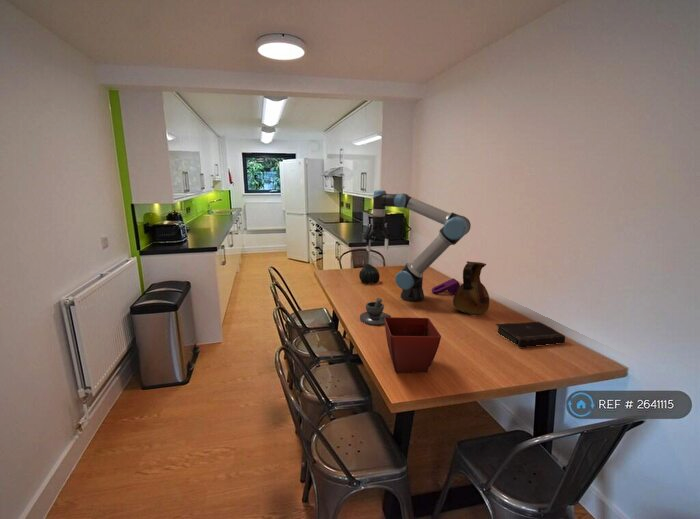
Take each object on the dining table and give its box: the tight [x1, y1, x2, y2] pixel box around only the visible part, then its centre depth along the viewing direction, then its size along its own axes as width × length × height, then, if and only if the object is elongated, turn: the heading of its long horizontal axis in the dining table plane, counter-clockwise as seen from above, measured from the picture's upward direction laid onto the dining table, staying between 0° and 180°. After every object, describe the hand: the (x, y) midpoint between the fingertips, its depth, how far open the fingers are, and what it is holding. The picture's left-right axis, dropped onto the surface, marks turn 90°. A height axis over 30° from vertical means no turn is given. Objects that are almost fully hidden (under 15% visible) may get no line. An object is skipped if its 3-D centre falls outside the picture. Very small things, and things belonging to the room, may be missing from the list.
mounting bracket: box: [431, 278, 461, 296], centre depth 234 cm, size 9×8×18 cm
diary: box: [495, 321, 566, 348], centre depth 167 cm, size 19×25×5 cm
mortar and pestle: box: [365, 297, 385, 319], centre depth 184 cm, size 11×9×12 cm
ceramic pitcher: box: [452, 260, 490, 316], centre depth 197 cm, size 20×20×30 cm
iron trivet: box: [359, 311, 392, 327], centre depth 186 cm, size 17×17×2 cm
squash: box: [358, 263, 381, 285], centre depth 254 cm, size 14×15×15 cm
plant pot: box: [384, 316, 442, 374], centre depth 138 cm, size 19×19×17 cm
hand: (377, 250), depth 213 cm, fingers open, 13 cm apart
